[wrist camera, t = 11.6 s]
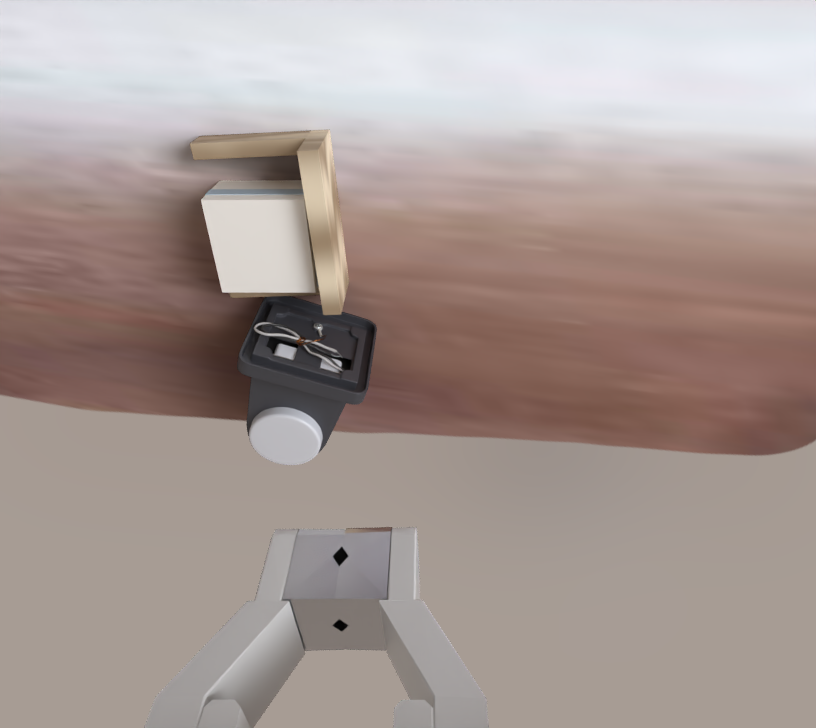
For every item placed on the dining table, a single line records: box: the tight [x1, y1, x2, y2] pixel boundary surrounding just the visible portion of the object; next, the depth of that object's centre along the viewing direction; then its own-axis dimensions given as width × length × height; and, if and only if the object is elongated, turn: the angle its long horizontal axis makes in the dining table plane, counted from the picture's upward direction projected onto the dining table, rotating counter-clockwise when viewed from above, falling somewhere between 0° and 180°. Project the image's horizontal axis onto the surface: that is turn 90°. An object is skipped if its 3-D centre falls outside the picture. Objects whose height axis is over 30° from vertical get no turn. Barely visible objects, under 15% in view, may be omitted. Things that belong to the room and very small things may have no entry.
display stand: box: [190, 130, 349, 315], centre depth 46 cm, size 13×10×6 cm
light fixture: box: [237, 296, 377, 465], centre depth 53 cm, size 11×13×11 cm
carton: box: [201, 180, 319, 293], centre depth 47 cm, size 8×8×5 cm
